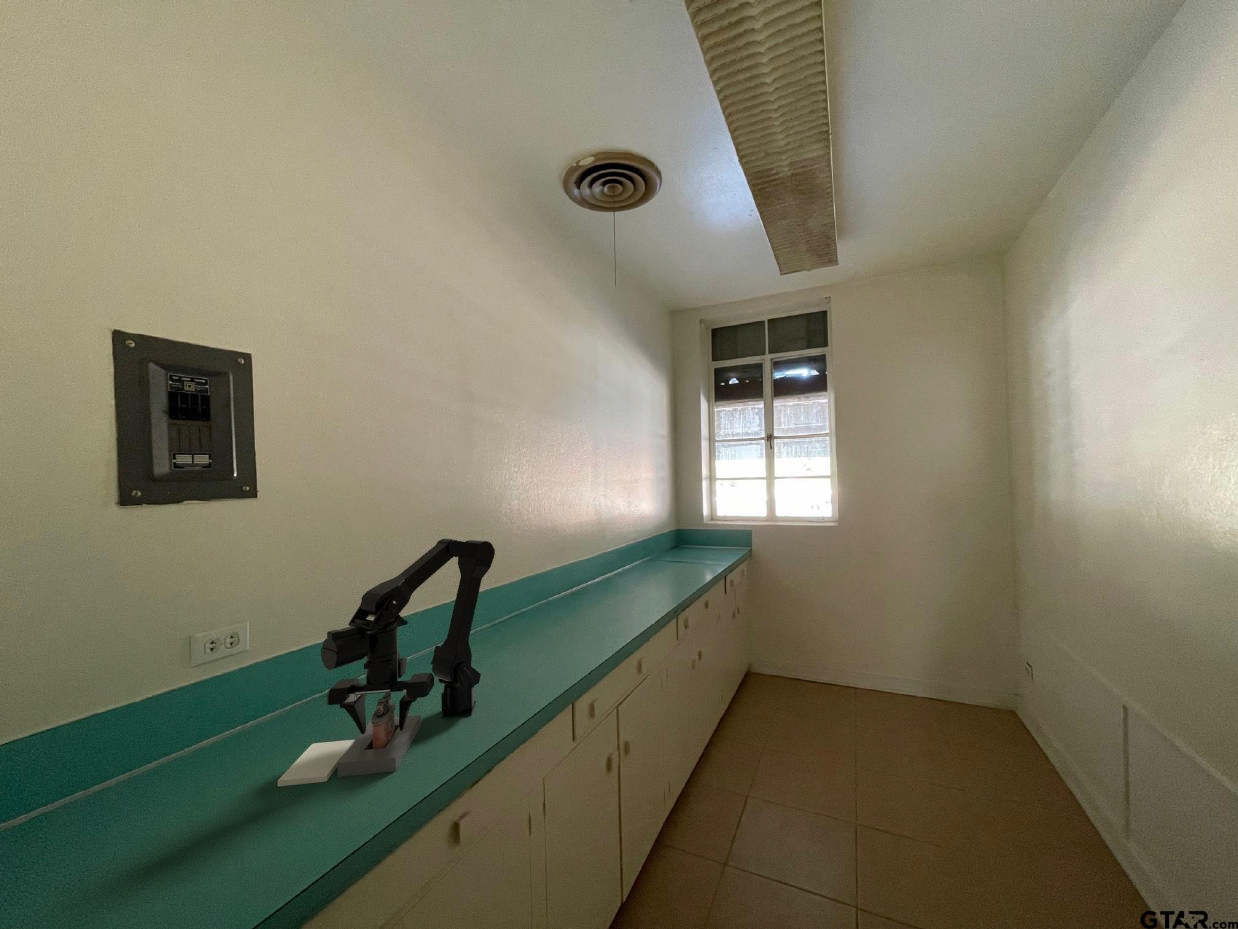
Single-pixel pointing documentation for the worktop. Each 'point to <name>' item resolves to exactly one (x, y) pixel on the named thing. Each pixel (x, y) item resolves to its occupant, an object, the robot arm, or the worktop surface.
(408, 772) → the worktop surface
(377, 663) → the robot arm
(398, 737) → the grey rectangular frame
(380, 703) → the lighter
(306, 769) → the rubber mat
